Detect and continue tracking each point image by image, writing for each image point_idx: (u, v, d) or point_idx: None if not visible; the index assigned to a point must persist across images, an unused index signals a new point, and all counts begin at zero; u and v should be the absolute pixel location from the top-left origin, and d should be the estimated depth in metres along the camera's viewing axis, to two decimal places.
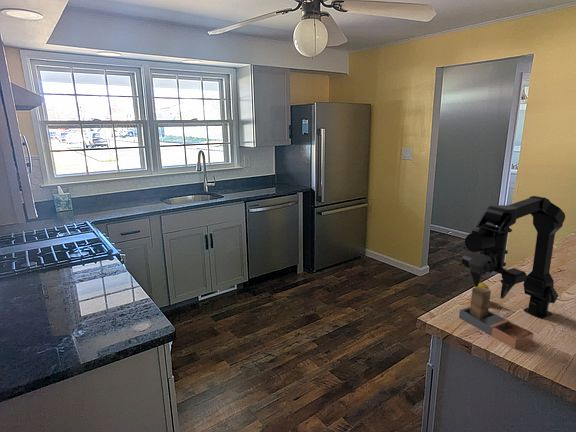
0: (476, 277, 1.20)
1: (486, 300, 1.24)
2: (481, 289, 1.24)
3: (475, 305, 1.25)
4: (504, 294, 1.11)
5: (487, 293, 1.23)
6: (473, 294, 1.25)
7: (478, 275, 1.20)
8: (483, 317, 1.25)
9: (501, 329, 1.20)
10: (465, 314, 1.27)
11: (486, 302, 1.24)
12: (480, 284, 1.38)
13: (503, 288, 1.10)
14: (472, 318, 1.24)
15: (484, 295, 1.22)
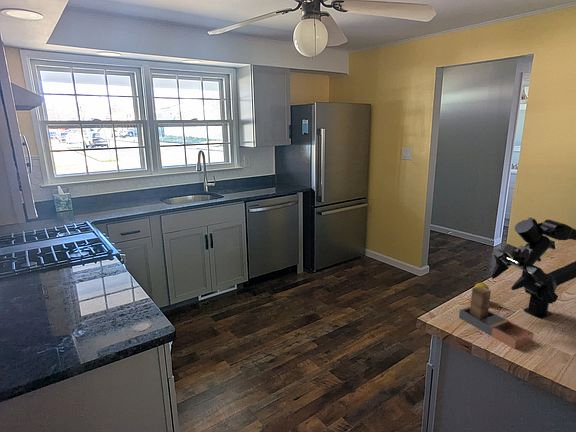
0: (497, 270, 1.29)
1: (486, 300, 1.24)
2: (480, 289, 1.24)
3: (475, 305, 1.25)
4: (516, 286, 1.20)
5: (487, 293, 1.23)
6: (473, 294, 1.25)
7: (500, 270, 1.29)
8: (483, 317, 1.25)
9: (501, 329, 1.20)
10: (465, 314, 1.27)
11: (486, 302, 1.24)
12: (480, 284, 1.38)
13: (520, 279, 1.19)
14: (472, 318, 1.24)
15: (484, 295, 1.22)
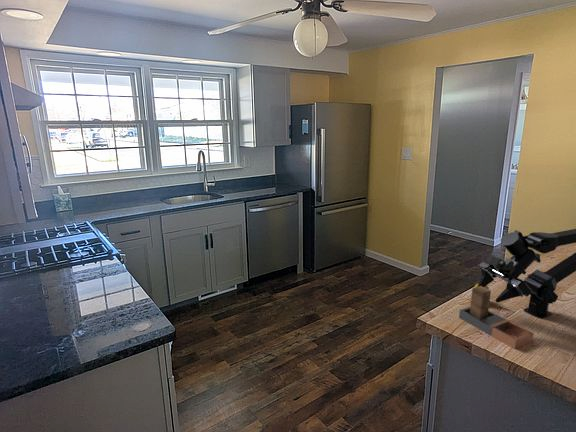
0: (483, 282, 1.29)
1: (486, 300, 1.23)
2: (480, 289, 1.24)
3: (475, 305, 1.25)
4: (500, 298, 1.20)
5: (487, 293, 1.23)
6: (473, 294, 1.25)
7: (485, 282, 1.30)
8: (483, 317, 1.25)
9: (501, 329, 1.20)
10: (465, 314, 1.27)
11: (486, 302, 1.24)
12: None
13: (504, 292, 1.20)
14: (472, 318, 1.24)
15: (484, 295, 1.22)
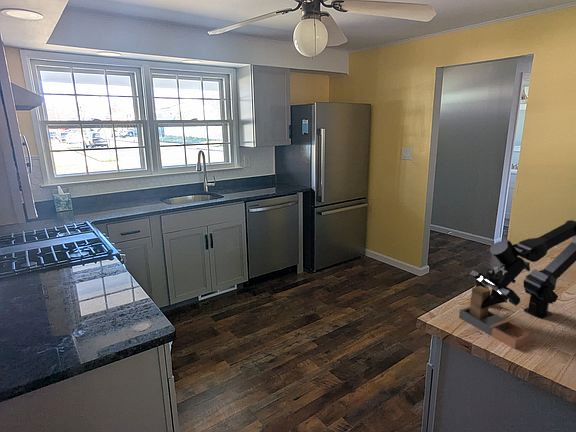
0: None
1: None
2: (480, 289, 1.24)
3: (475, 305, 1.25)
4: (485, 304, 1.22)
5: (487, 293, 1.23)
6: (473, 294, 1.25)
7: None
8: (483, 317, 1.25)
9: (501, 329, 1.20)
10: (465, 314, 1.27)
11: None
12: None
13: (489, 298, 1.22)
14: (472, 318, 1.24)
15: (484, 294, 1.22)
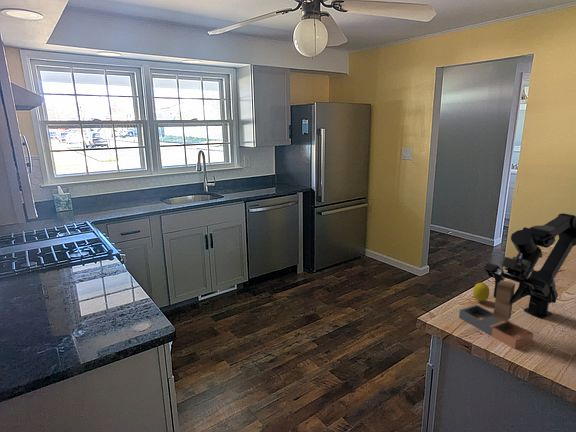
0: None
1: (512, 294, 1.15)
2: (506, 284, 1.15)
3: (501, 302, 1.15)
4: (514, 299, 1.13)
5: (513, 287, 1.14)
6: (498, 290, 1.15)
7: None
8: (509, 313, 1.16)
9: (501, 329, 1.20)
10: (465, 314, 1.27)
11: None
12: (480, 284, 1.38)
13: (517, 292, 1.13)
14: (472, 318, 1.24)
15: (512, 289, 1.13)
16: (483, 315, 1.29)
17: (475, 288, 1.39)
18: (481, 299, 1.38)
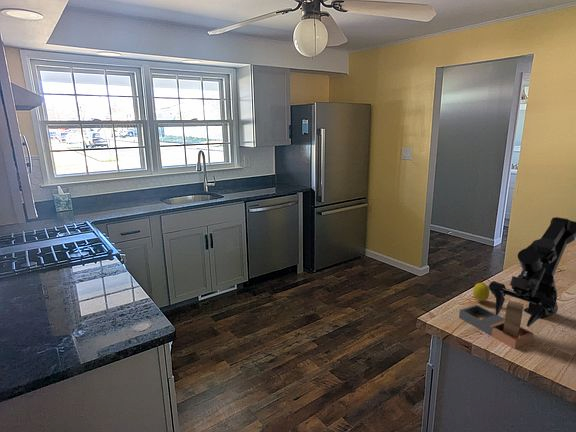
0: (500, 305, 1.18)
1: (521, 315, 1.14)
2: (515, 305, 1.13)
3: (511, 323, 1.14)
4: (531, 322, 1.10)
5: (522, 308, 1.13)
6: (508, 311, 1.14)
7: (501, 304, 1.19)
8: (518, 334, 1.15)
9: (501, 329, 1.20)
10: (465, 314, 1.27)
11: (521, 317, 1.14)
12: (480, 284, 1.38)
13: (534, 314, 1.10)
14: (472, 318, 1.24)
15: (521, 310, 1.12)
16: (483, 315, 1.29)
17: (475, 288, 1.39)
18: (481, 299, 1.38)
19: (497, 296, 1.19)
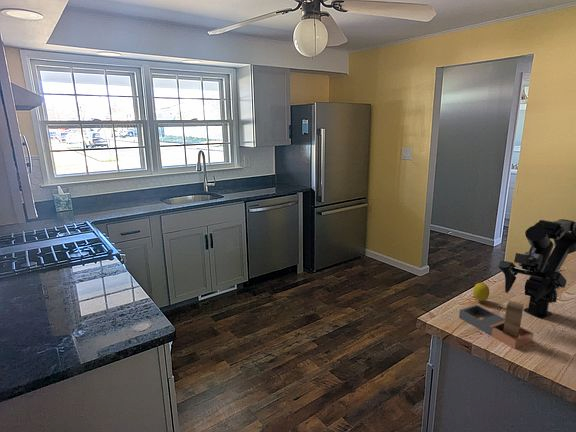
0: (509, 282, 1.22)
1: (521, 315, 1.14)
2: (515, 305, 1.13)
3: (511, 323, 1.14)
4: (539, 296, 1.13)
5: (522, 308, 1.13)
6: (508, 311, 1.14)
7: (511, 282, 1.22)
8: (518, 334, 1.15)
9: (501, 329, 1.20)
10: (465, 314, 1.27)
11: (521, 318, 1.14)
12: (480, 284, 1.38)
13: (541, 288, 1.12)
14: (472, 318, 1.24)
15: (521, 310, 1.12)
16: (483, 315, 1.29)
17: (475, 288, 1.39)
18: (481, 299, 1.38)
19: (506, 274, 1.22)
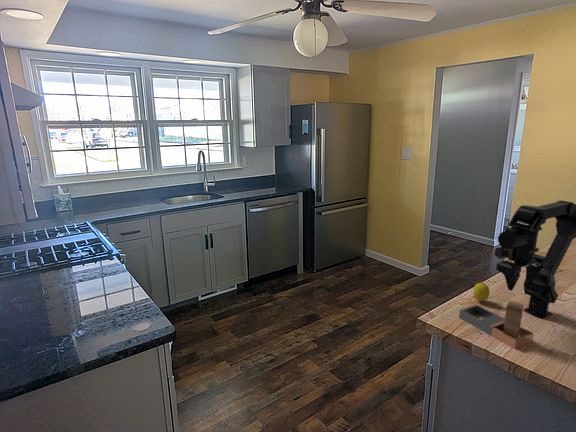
0: (528, 275, 1.24)
1: (521, 315, 1.14)
2: (515, 305, 1.13)
3: (511, 323, 1.14)
4: (508, 285, 1.21)
5: (522, 308, 1.13)
6: (508, 311, 1.14)
7: (531, 274, 1.23)
8: (518, 334, 1.15)
9: (501, 329, 1.20)
10: (465, 314, 1.27)
11: (521, 318, 1.14)
12: (480, 284, 1.38)
13: None
14: (472, 318, 1.24)
15: (521, 310, 1.12)
16: (483, 315, 1.29)
17: (475, 288, 1.39)
18: (481, 299, 1.38)
19: None
